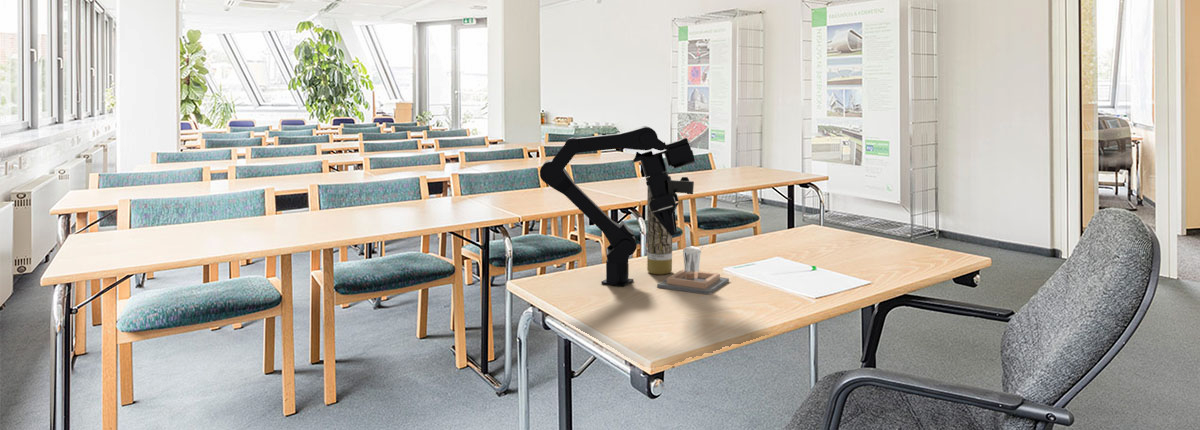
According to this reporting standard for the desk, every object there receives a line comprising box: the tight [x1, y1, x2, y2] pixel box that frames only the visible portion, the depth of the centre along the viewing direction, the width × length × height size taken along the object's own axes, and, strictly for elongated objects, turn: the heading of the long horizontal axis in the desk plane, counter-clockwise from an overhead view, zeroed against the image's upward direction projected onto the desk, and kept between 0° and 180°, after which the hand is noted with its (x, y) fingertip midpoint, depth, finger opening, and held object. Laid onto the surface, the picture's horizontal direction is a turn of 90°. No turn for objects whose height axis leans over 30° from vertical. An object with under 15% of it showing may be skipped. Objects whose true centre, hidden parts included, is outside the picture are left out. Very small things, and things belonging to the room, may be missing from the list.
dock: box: [656, 269, 730, 295], centre depth 182 cm, size 14×14×2 cm
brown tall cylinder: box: [646, 187, 673, 276], centre depth 193 cm, size 7×7×25 cm
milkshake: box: [682, 243, 705, 281], centre depth 181 cm, size 4×5×10 cm
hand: (673, 233), depth 180 cm, fingers open, 9 cm apart
